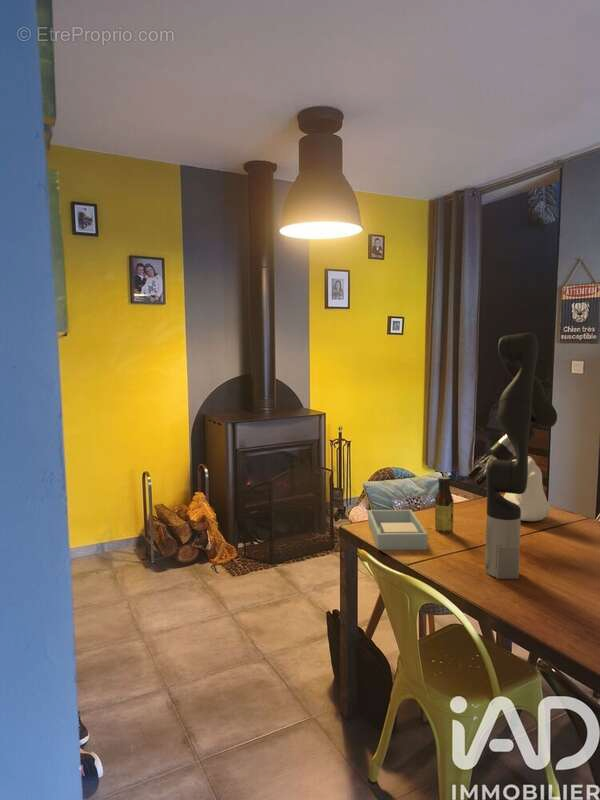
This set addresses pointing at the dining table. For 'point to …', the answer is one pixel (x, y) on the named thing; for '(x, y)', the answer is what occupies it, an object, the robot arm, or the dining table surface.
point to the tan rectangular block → (398, 528)
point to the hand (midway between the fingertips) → (473, 480)
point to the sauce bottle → (444, 507)
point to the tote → (396, 539)
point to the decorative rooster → (531, 496)
